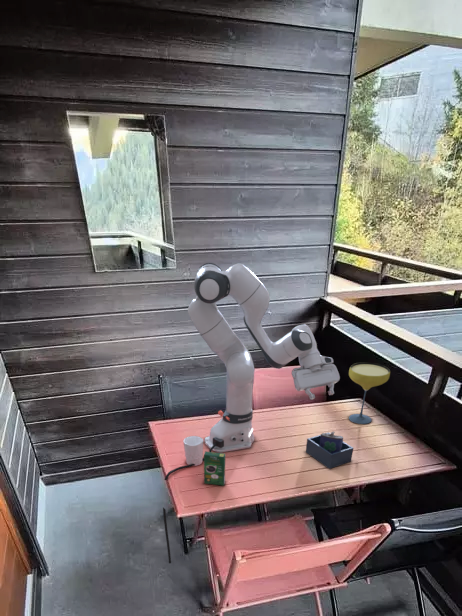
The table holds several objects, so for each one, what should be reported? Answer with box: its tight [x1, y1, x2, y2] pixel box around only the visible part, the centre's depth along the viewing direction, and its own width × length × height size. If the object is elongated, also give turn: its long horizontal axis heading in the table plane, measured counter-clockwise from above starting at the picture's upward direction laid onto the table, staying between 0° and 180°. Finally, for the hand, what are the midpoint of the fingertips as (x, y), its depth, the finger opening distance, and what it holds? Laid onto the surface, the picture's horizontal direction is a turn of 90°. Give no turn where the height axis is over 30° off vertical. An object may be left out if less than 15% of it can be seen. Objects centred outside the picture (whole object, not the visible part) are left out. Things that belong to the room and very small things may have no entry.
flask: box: [320, 431, 344, 454], centre depth 182 cm, size 9×3×11 cm, turn 70°
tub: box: [305, 432, 354, 470], centre depth 184 cm, size 12×16×6 cm
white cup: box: [182, 435, 204, 467], centre depth 179 cm, size 8×8×10 cm
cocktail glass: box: [348, 362, 391, 425], centre depth 208 cm, size 18×18×25 cm
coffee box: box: [203, 451, 226, 486], centre depth 166 cm, size 8×3×13 cm, turn 80°
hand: (322, 396), depth 179 cm, fingers open, 8 cm apart
